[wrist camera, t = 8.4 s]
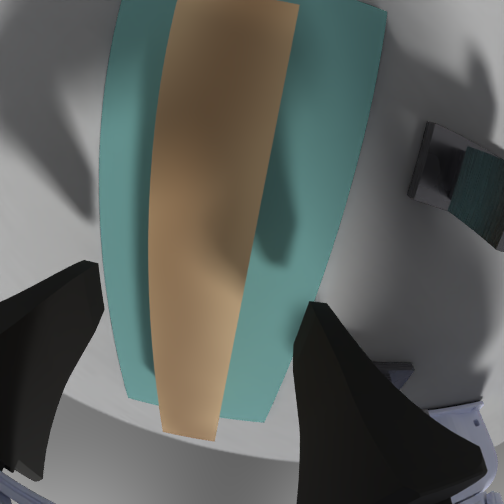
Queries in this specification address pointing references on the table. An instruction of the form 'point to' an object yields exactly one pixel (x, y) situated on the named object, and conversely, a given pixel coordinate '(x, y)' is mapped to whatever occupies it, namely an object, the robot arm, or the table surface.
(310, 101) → the teal mat
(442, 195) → the hook standards
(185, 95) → the oak bar
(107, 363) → the table surface
